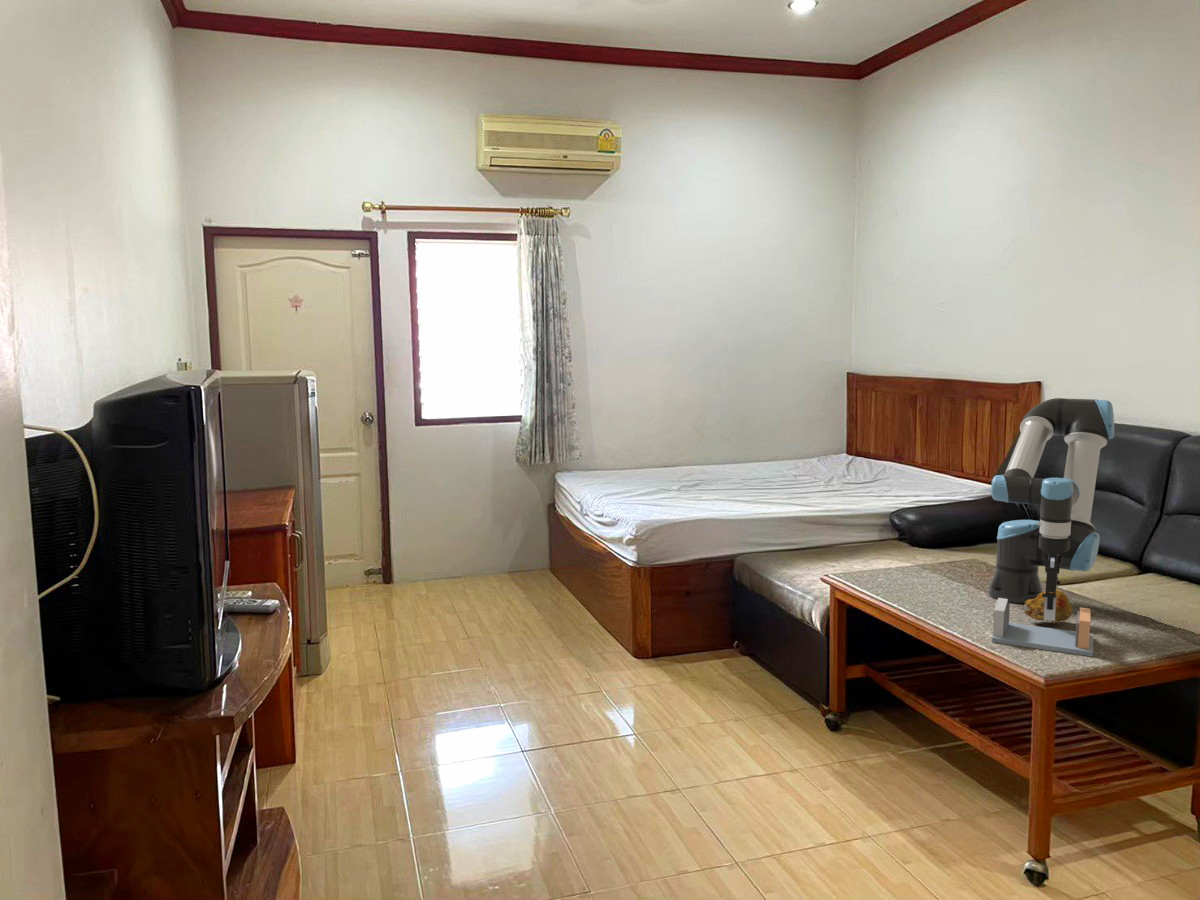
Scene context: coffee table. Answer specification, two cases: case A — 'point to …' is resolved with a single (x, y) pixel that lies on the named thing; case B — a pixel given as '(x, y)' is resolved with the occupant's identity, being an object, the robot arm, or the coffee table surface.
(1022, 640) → the base
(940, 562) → the coffee table surface
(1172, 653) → the coffee table surface
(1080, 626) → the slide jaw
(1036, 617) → the rock
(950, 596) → the coffee table surface
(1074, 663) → the coffee table surface
